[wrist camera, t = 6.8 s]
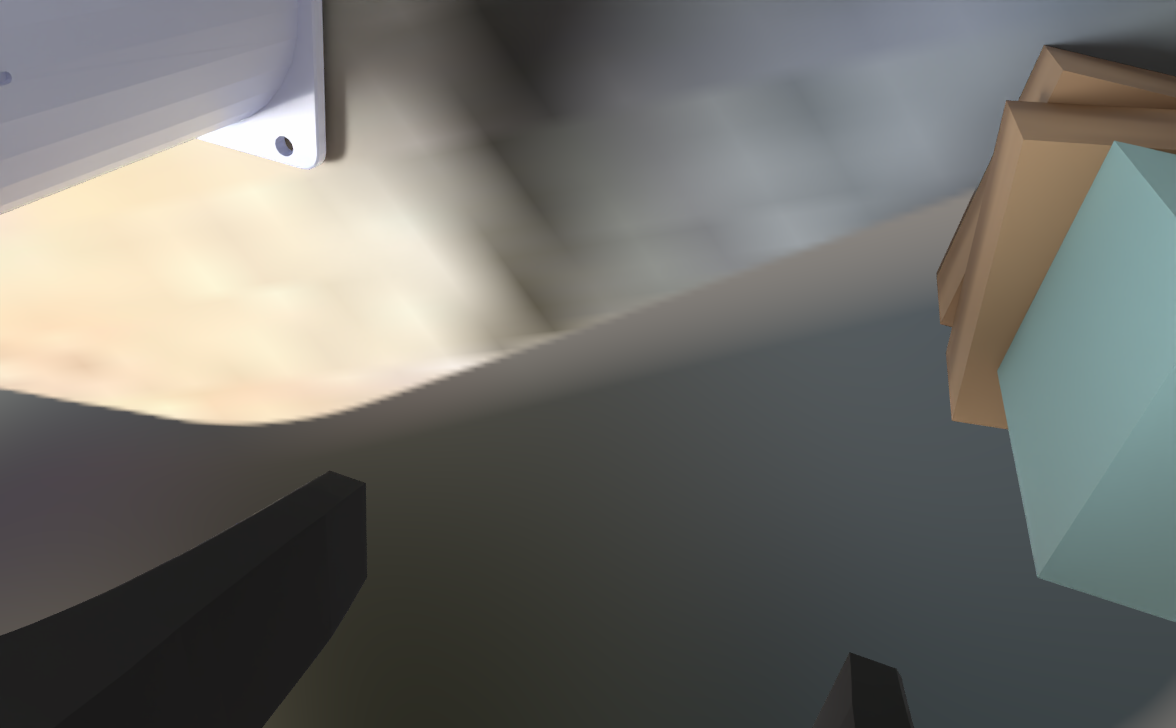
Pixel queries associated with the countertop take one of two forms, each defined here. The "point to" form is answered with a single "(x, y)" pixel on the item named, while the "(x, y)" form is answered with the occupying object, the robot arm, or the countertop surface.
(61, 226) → the countertop surface
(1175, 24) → the countertop surface
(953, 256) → the tower base
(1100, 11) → the countertop surface
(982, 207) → the tower top
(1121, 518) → the teal block
